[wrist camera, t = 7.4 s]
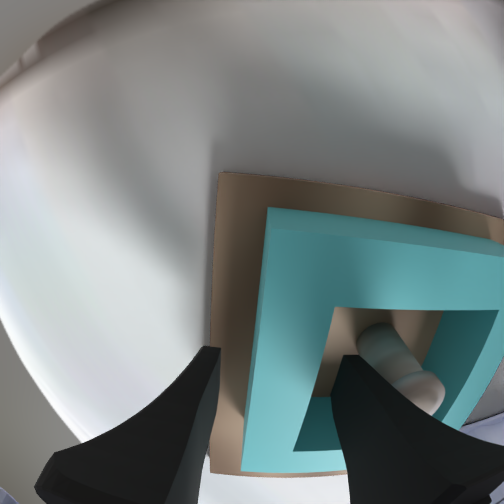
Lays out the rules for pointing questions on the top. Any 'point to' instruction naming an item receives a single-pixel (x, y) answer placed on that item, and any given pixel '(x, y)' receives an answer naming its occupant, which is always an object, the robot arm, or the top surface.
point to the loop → (361, 296)
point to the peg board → (344, 318)
